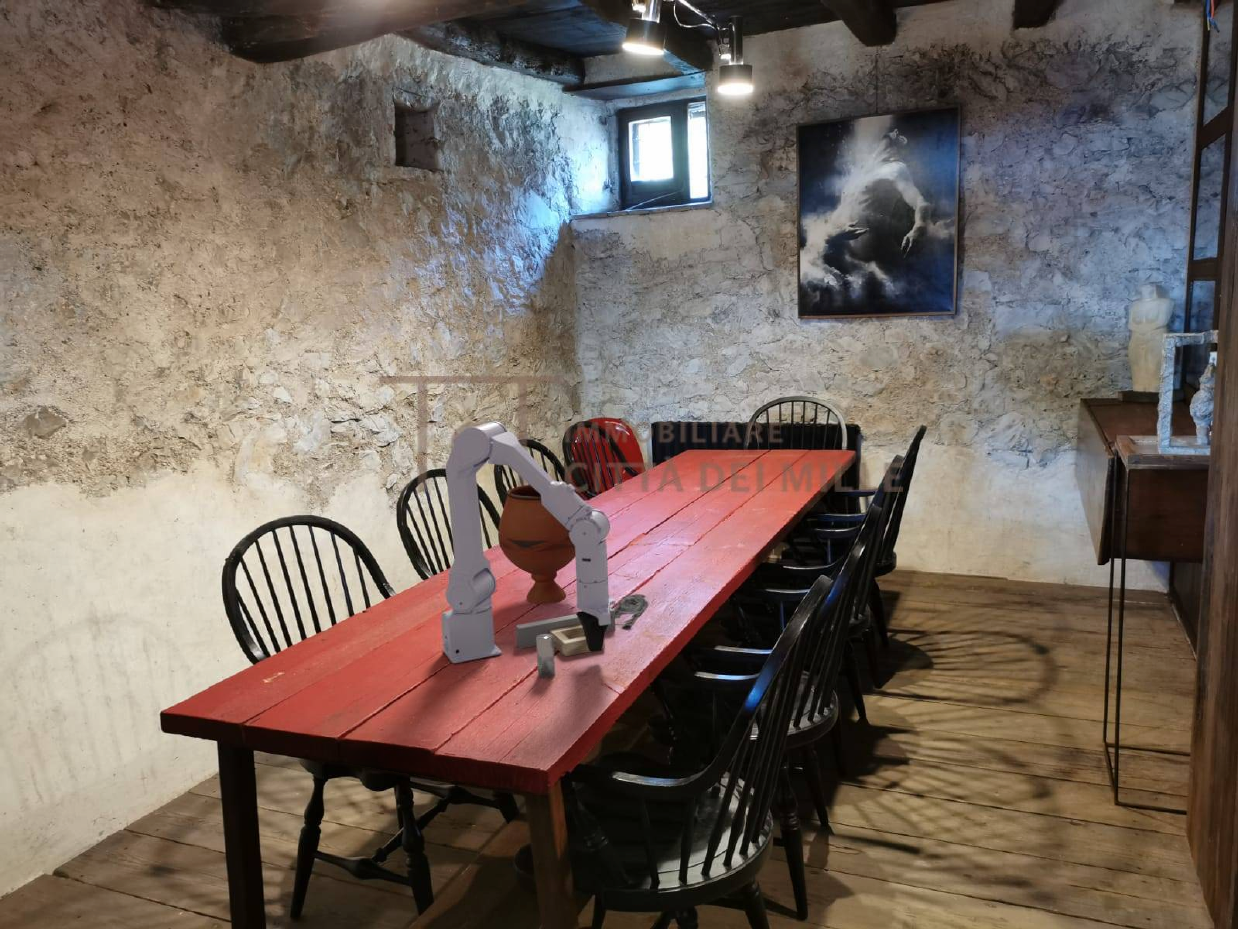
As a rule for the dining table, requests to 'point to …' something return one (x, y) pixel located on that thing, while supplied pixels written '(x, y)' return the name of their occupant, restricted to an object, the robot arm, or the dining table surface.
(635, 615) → the driftwood
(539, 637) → the dowel
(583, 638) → the socket block
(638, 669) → the dining table surface
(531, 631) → the backstop wall
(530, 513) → the goblet
